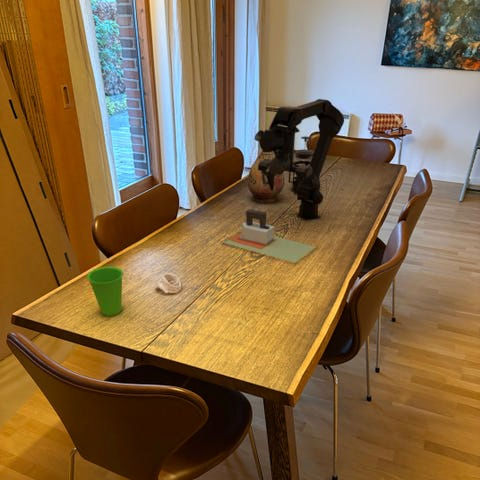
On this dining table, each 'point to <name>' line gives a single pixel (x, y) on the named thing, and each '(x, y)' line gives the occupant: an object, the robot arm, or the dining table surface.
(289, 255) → the ironing mat
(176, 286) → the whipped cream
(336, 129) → the robot arm
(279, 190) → the ceramic jug
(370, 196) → the dining table surface
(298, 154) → the french press
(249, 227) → the iron
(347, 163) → the dining table surface
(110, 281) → the cup
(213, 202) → the dining table surface
